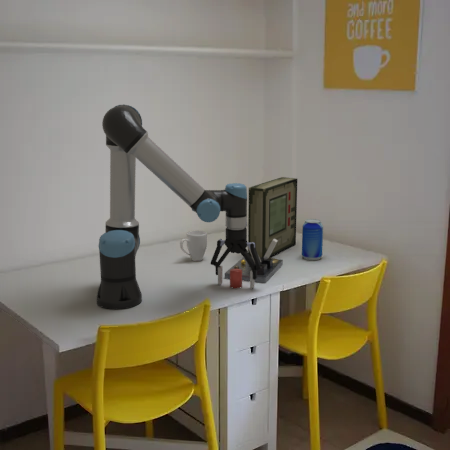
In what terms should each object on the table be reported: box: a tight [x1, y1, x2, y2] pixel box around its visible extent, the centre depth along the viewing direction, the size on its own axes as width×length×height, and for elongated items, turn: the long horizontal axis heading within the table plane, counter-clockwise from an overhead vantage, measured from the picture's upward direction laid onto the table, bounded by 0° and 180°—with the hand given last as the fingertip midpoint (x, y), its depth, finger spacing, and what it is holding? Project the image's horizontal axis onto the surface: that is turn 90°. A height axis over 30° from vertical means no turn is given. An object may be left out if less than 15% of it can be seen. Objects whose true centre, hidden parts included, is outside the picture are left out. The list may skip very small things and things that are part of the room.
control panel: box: [247, 176, 298, 258], centre depth 268 cm, size 30×8×30 cm, turn 148°
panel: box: [224, 257, 284, 284], centre depth 244 cm, size 24×16×5 cm, turn 160°
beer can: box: [301, 218, 324, 261], centre depth 260 cm, size 8×8×16 cm
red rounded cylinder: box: [229, 269, 243, 289], centre depth 227 cm, size 4×4×6 cm
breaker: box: [264, 239, 278, 260], centre depth 241 cm, size 3×2×8 cm, turn 160°
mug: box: [179, 230, 208, 262], centre depth 257 cm, size 12×8×11 cm
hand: (236, 285), depth 228 cm, fingers open, 12 cm apart
